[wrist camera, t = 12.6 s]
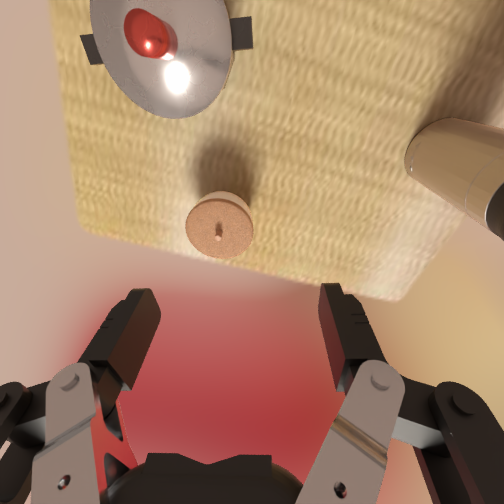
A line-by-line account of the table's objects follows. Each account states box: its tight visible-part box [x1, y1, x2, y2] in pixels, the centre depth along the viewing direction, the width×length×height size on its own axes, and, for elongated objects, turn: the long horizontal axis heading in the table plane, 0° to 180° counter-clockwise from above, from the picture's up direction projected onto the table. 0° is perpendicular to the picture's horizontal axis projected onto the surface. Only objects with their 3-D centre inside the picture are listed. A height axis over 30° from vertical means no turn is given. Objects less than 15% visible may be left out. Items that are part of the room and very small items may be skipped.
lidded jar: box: [186, 191, 253, 259], centre depth 41 cm, size 11×11×9 cm
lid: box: [90, 0, 232, 119], centre depth 23 cm, size 14×14×7 cm
